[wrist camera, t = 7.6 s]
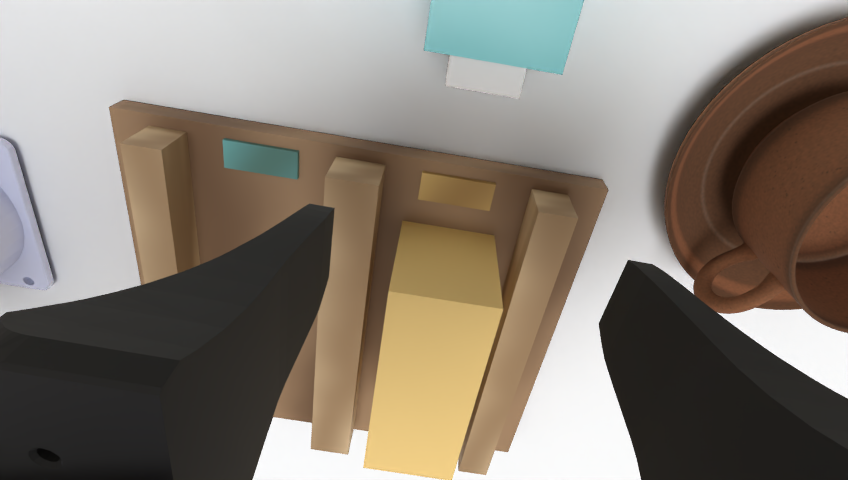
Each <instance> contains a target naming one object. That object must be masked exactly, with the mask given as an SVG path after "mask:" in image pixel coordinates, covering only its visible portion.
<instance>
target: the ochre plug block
mask: <svg viewBox="0 0 848 480" xmlns="http://www.w3.org/2000/svg"><path fill="white" fill-rule="evenodd" d="M502 312H503V303H502V294H501V286H500V278H499V269H498V261H497V253H496V245H495V236H494V235H488V234H482V233H476V232H470V231H464V230H457V229H451V228H445V227H439V226H433V225H426V224H420V223H414V222H408V221H402V226H401V231H400V236H399V241H398V246H397V251H396V256H395V261H394V266H393V271H392V276H391V281H390V286H389V291H388V298H387V305H386V312H385V319H384V326H383V333H382V340H381V347H380V354H379V361H378V368H377V375H376V382H375V389H374V396H373V403H372V410H371V417H370V424H369V432H368V439H367V446H366V453H365V460H364V467H363V468H369V469H376V470H383V471H389V472H396V473H403V474H410V475H417V476H423V477H430V478H437V479H444V480H452V478H453V474H454V471H455V468H456V464H457V461H458V458H459V454H460V451H461V448H462V445H463V441H464V438H465V435H466V431H467V428H468V425H469V421H470V418H471V415H472V411H473V408H474V405H475V401H476V398H477V395H478V391H479V388H480V385H481V382H482V378H483V375H484V372H485V368H486V365H487V362H488V358H489V355H490V352H491V348H492V345H493V342H494V338H495V335H496V332H497V328H498V325H499V322H500V319H501V315H502Z"/></svg>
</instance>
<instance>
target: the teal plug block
mask: <svg viewBox="0 0 848 480" xmlns="http://www.w3.org/2000/svg"><path fill="white" fill-rule="evenodd" d="M583 2H584V0H431V5H430V12H429V18H428V25H427V32H426V39H425V46H424V51H430V52H435V53H441V54H447V55H449V60H448V66H447V74H446V84H445V86H447V87H453V88H459V89H465V90H470V91H476V92H482V93H488V94H493V95H499V96H505V97H511V98H517V99H519V98H520V95H521V91H522V87H523V83H524V79H525V75H526V71H527V69H533V70H538V71H544V72H550V73H555V74H561V75H562V74H563V70H564V67H565V64H566V60H567V57H568V53H569V50H570V46H571V43H572V40H573V36H574V33H575V29H576V26H577V23H578V19H579V16H580V12H581V9H582V6H583Z"/></svg>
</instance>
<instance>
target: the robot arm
mask: <svg viewBox="0 0 848 480" xmlns="http://www.w3.org/2000/svg"><path fill="white" fill-rule="evenodd" d="M334 210H335V208H332V207H326V206H321V205H315V204H308V205H306V206H304V207H303V208H301V209H300V210H298V211H297V212H295V213H294V214H292V215H291V216H289V217H288V218H286V219H284V220H283V221H281V222H280V223H278V224H277V225H275V226H273V227H272V228H270V229H269V230H267V231H265V232H264V233H262V234H261V235H259V236H257V237H255V238H253V239H251V240H250V241H248V242H246V243H244V244H242V245H240V246H238V247H237V248H235V249H233V250H231V251H229V252H227V253H225V254H223V255H221V256H219V257H217V258H214V259H212V260H210V261H208V262H205V263H203V264H200V265H198V266H196V267H193V268H191V269H188V270H185V271H183V272H180V273H177V274H174V275H171V276H168V277H165V278H162V279H159V280H156V281H153V282H150V283H146V284H143V285H140V286H137V287H133V288H129V289H125V290H122V291H118V292H114V293H110V294H105V295H101V296H97V297H92V298H88V299H83V300H78V301H73V302H68V303H62V304H56V305H50V306H44V307H38V308H32V309H26V310H20V311H13V312H6V313H5V314H4V315H2V316H1V317H0V480H252V479H253V476H254V473H255V470H256V467H257V464H258V461H259V457H260V454H261V451H262V448H263V445H264V442H265V439H266V436H267V433H268V430H269V427H270V424H271V421H272V418H273V415H274V412H275V409H276V406H277V403H278V400H279V398H280V395H281V393H282V390H283V388H284V386H285V383H286V381H287V379H288V377H289V374H290V372H291V370H292V368H293V366H294V364H295V361H296V359H297V357H298V355H299V353H300V351H301V348H302V346H303V344H304V342H305V340H306V338H307V336H308V333H309V331H310V329H311V327H312V325H313V322H314V320H315V318H316V316H317V313H318V311H319V308H320V305H321V302H322V299H323V295H324V292H325V289H326V285H327V282H328V279H329V271H330V259H331V247H332V235H333V222H334ZM0 284H7V285H13V286H19V287H26V288H32V289H39V290H47V289H49V288H50V287H51V286H52V285H53V284H54V279H53V276H52V273H51V269H50V266H49V262H48V259H47V256H46V252H45V249H44V245H43V242H42V239H41V235H40V232H39V229H38V225H37V222H36V218H35V215H34V212H33V208H32V205H31V201H30V198H29V195H28V191H27V188H26V184H25V181H24V178H23V174H22V171H21V167H20V164H19V161H18V157H17V154H16V151H15V149H14V146H13V145H12V144H11V143H10V142H8V141H7V140H5V139H2V138H0ZM599 329H600V336H601V343H602V348H603V353H604V359H605V362H606V365H607V369H608V372H609V375H610V378H611V381H612V384H613V387H614V390H615V393H616V396H617V399H618V402H619V405H620V408H621V411H622V414H623V417H624V420H625V423H626V426H627V429H628V432H629V435H630V438H631V441H632V444H633V448H634V451H635V455H636V458H637V462H638V467H639V471H640V476H641V480H848V399H847V398H845V397H843V396H842V395H840V394H838V393H836V392H834V391H833V390H831V389H829V388H827V387H826V386H824V385H822V384H820V383H819V382H817V381H815V380H814V379H812V378H810V377H809V376H807V375H806V374H804V373H802V372H801V371H799V370H798V369H796V368H794V367H793V366H791V365H790V364H788V363H787V362H785V361H783V360H782V359H780V358H779V357H777V356H776V355H774V354H773V353H771V352H770V351H768V350H767V349H765V348H764V347H763V346H761V345H760V344H758V343H757V342H756V341H754V340H753V339H751V338H750V337H749V336H747V335H746V334H744V333H743V332H742V331H740V330H739V329H738V328H736V327H735V326H734V325H732V324H731V323H730V322H728V321H727V320H726V319H724V318H723V317H722V316H721V315H719V314H718V313H717V312H715V311H714V310H713V309H712V308H710V307H709V306H708V305H706V304H705V303H704V302H703V301H701V300H700V299H699V298H698V297H696V296H695V295H694V294H693V293H691V292H690V291H689V290H688V289H686V288H685V287H684V286H682V285H681V284H680V283H679V282H677V281H676V280H675V279H673V278H672V277H671V276H669V275H668V274H667V273H665V272H664V271H662V270H661V269H659V268H658V267H656V266H654V265H653V264H648V263H642V262H636V261H631V260H628V261H627V264H626V266H625V268H624V270H623V272H622V274H621V277H620V279H619V281H618V283H617V285H616V287H615V290H614V292H613V294H612V296H611V298H610V300H609V303H608V305H607V307H606V309H605V311H604V313H603V315H602V318H601V320H600V322H599Z"/></svg>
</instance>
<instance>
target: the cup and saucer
mask: <svg viewBox="0 0 848 480" xmlns="http://www.w3.org/2000/svg"><path fill="white" fill-rule="evenodd" d="M664 215H665V223H666V229H667V233H668V237H669V241H670V244H671V247H672V249H673V251H674V254H675V256H676V257H677V259H678V261H679V263H680V264H681V266H682V267H683V268H684V270H685V271H686V272H687V273H688V274H689V275H690V276H691V277H692V278H693V279H694V280H695V281H694V286H693V289H694V295H695V296H696V297H698V298H699V299H700V300H701V301H703V302H704V303H705V304H706V305H708V306H709V307H710V308H712V309H713V310H714V311H715V312H718V313H726V314H731V313H739V312H744V311H747V310H750V309H753V308H762V309H774V310H792V309H803V310H804V311H805V312H806V313H807V314H809V315H810V316H811V317H812V318H813V319H815V320H816V321H818V322H820V323H821V324H823V325H825V326H828V327H830V328H832V329H835V330H838V331H842V332H846V333H848V17H847V18H844V19H840V20H837V21H834V22H831V23H828V24H825V25H823V26H820V27H818V28H815V29H813V30H810V31H808V32H805V33H803V34H801V35H799V36H797V37H795V38H793V39H791V40H789V41H787V42H785V43H784V44H782V45H780V46H779V47H777V48H775V49H774V50H772V51H770V52H769V53H767V54H766V55H764V56H763V57H761V58H760V59H758V60H757V61H756V62H754V63H753V64H751V65H750V66H749V67H747V68H746V69H745V70H744V71H743V72H741V73H740V74H739V75H738V76H736V77H735V78H734V79H733V80H732V81H731V82H730V83H729V84H728V85H727V86H725V87H724V88H723V89H722V90H721V91H720V92H719V93H718V94H717V96H716V97H715V98H714V99H713V100H712V101H711V102H710V103H709V104H708V105H707V107H706V108H705V109H704V111H703V112H702V113H701V114H700V116H699V117H698V118H697V120H696V121H695V123H694V124H693V126H692V127H691V129H690V130H689V132H688V133H687V135H686V137H685V139H684V140H683V142H682V144H681V146H680V148H679V150H678V152H677V155H676V157H675V159H674V161H673V164H672V167H671V170H670V173H669V177H668V182H667V186H666V192H665V201H664Z"/></svg>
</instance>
